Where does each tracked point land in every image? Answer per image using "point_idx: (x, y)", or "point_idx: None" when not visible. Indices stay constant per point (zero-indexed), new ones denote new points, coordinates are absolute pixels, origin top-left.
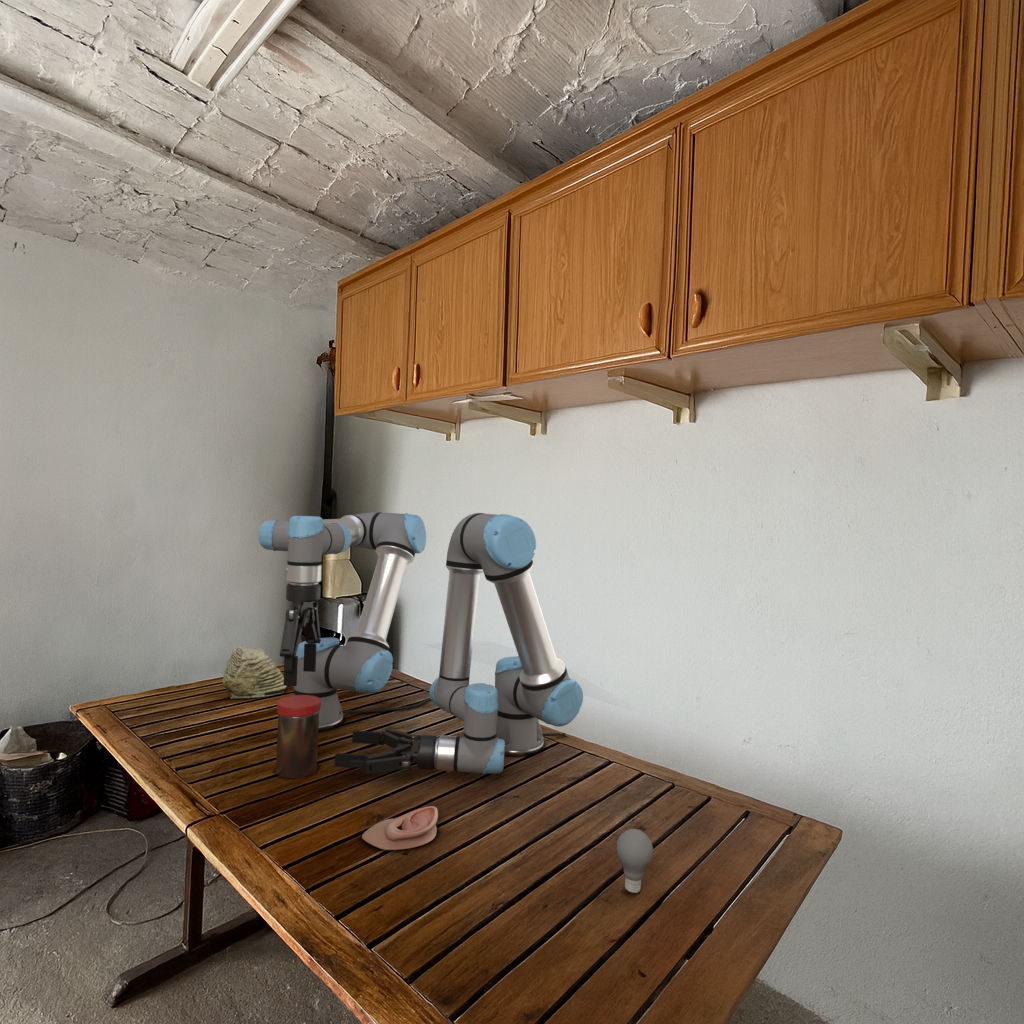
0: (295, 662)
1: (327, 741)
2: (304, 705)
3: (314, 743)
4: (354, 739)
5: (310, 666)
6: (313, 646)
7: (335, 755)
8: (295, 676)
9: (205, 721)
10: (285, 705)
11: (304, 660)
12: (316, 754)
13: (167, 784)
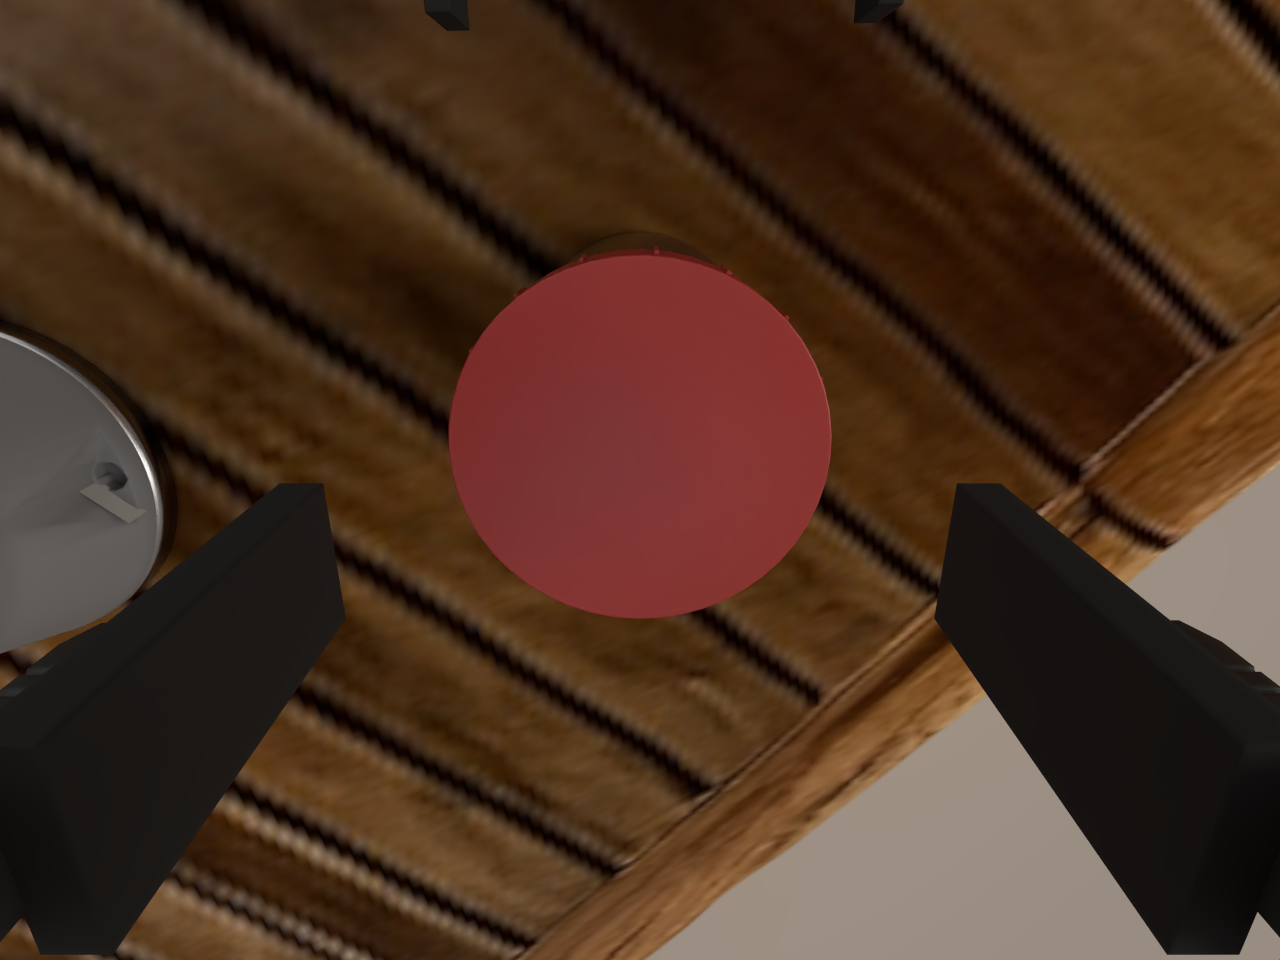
0: (1214, 679)
1: (244, 309)
2: (751, 365)
3: (672, 246)
4: (462, 6)
5: (300, 569)
6: (78, 754)
7: (901, 1)
8: (1067, 541)
9: (222, 908)
10: (773, 521)
11: (280, 699)
12: (638, 236)
13: (832, 760)
